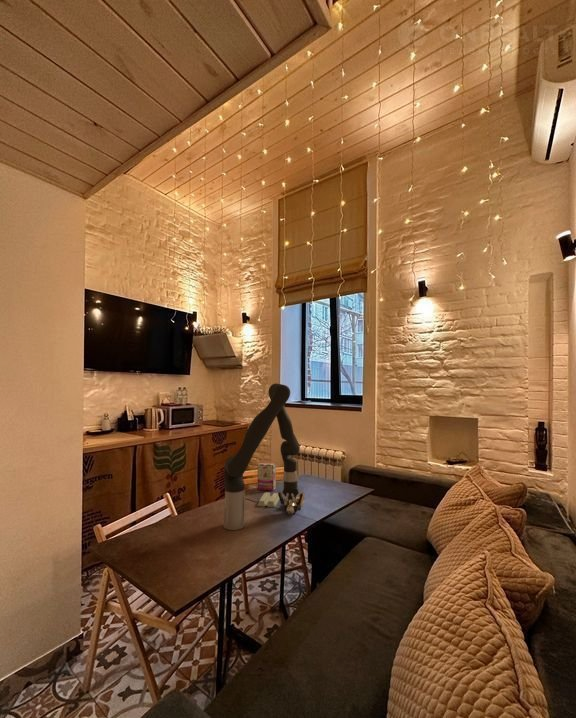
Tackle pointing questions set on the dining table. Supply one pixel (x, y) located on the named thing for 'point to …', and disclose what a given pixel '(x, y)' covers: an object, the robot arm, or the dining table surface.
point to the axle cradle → (269, 500)
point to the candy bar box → (266, 476)
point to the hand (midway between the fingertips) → (290, 512)
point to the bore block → (297, 501)
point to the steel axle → (290, 508)
